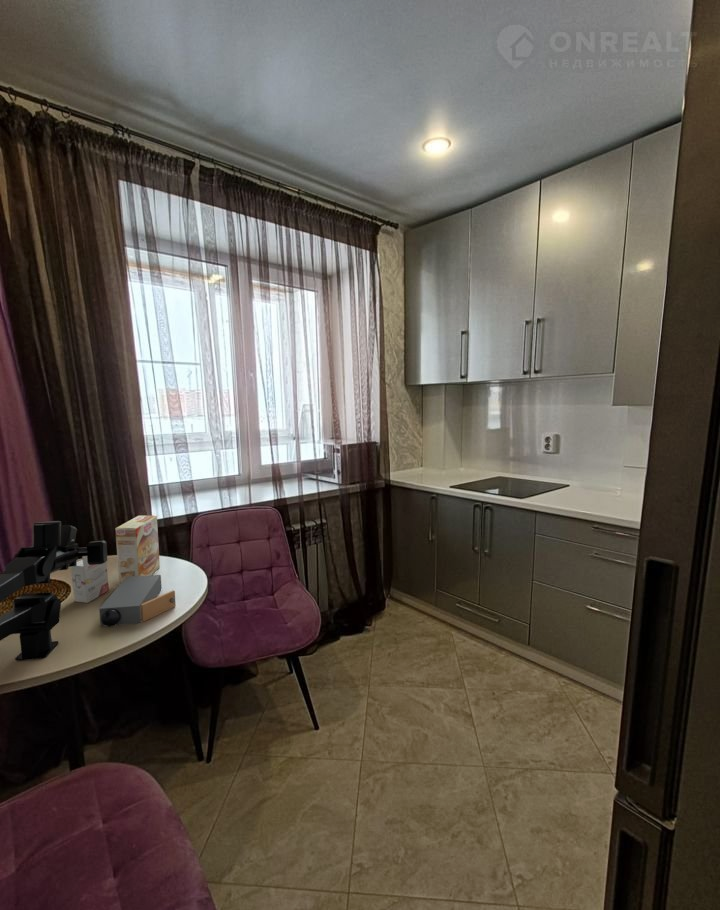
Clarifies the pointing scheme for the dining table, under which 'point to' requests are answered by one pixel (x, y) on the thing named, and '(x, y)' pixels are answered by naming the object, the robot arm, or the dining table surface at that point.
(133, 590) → the box
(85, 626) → the dining table surface
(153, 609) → the side door
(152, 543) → the coffeecake box
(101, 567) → the ink cartridge box
